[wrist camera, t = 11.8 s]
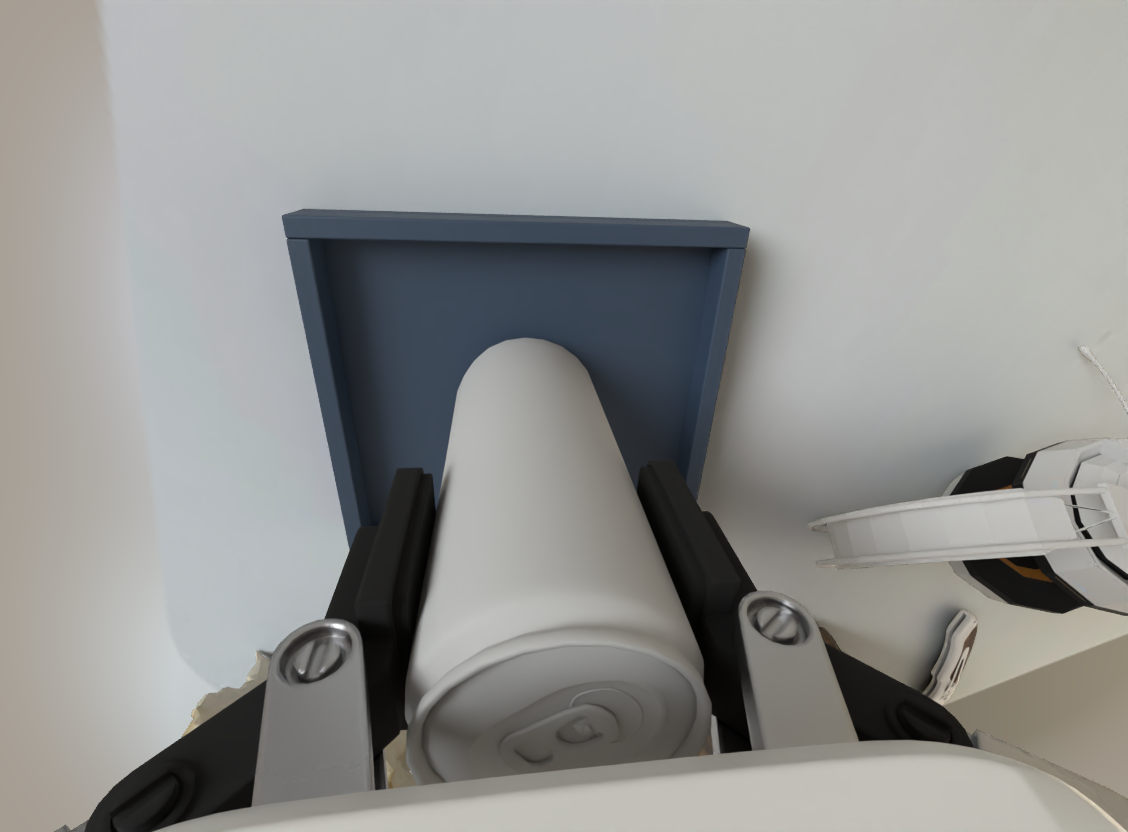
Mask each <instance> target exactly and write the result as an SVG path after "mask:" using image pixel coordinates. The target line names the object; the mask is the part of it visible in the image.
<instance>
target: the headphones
mask: <svg viewBox="0 0 1128 832" xmlns="http://www.w3.org/2000/svg"><path fill="white" fill-rule="evenodd" d="M1078 349H1079V350H1080V351H1081V352H1082V354H1083V355H1085V356H1086V357H1087V358H1088V359H1089V360H1090V361H1092V362H1093V363H1094V364H1095V365H1096V367H1097V368H1098V369H1099V370H1100V371H1101V373H1102V374H1103V375H1104V377H1105V378H1106V379H1107V381H1108V382H1109V384H1110V385H1111V387H1112V388H1113V390H1114V391H1115V393H1116V395H1117V396H1118V398H1119V400H1120V401H1121V403H1122V405H1123V407H1124V408H1125V410H1126V412H1127V414H1128V405H1127V403H1126V402H1125V400H1124V398H1123V397H1122V395H1121V393H1120V392H1119V390H1118V389H1117V387H1116V385H1115V384H1114V382H1113V381H1112V380H1111V378H1110V377H1109V376H1108V374H1107V373H1106V371H1105V370H1104V369H1103V368H1102V367H1101V365H1100V364H1099V363H1098V362H1097V361H1096V358H1095V357H1094V355H1093V354H1092V352H1091V351H1090V350H1089V349H1088V348H1087V347H1086V346H1085V345H1082V346H1080V347H1078ZM823 524H828V527H817V526H819V525H823ZM807 526H808V529H809V530H810V531H817V532H829V533H830V537H831V542H832V546H833V550H834V555H835V559H828V560H819V561H816V566H817V567H835V566H837V568H838V569H854V568H868V567H874V566H888V565H902V564H906V565H908V564H916V563H931V562H946V561H948V562H949V563H950V565H951V567H952V569H953V570H954V572H955V573H956V574H957V575H958V576H960V577H961V578H962V579H964V580H965V581H966V582H968V583H969V584H971V585H972V586H973V587H975V588H976V589H977V590H979V591H980V592H981V593H983V594H984V595H985V596H987V597H988V598H991V599H994V600H997V601H1001V602H1004V603H1007V604H1011V605H1016V606H1021V607H1026V608H1031V609H1036V610H1041V611H1046V612H1051V613H1061V614H1063V613H1066V612H1069V611H1071V610H1074V609H1077V608H1079V607H1082V606H1085V607H1090V608H1094V609H1098V610H1102V611H1107V612H1111V613H1115V614H1120V615H1124V616H1128V438H1123V439H1110V438H1097V439H1082V440H1069V441H1064V442H1061V443H1057V444H1054V445H1051V446H1049V447H1046V448H1043V449H1041V450H1038V451H1035V452H1033V453H1030V454H1027V455H1026V457H1025V459H1020V458H1014V457H1008V456H1007V457H1004V458H1001V459H998V460H995V461H992V462H989V463H986V464H984V465H981V466H978V467H975V468H972V469H970V470H967V471H965V472H964V473H962V474H961V475H959V476H958V477H957V478H955V479H954V480H953V481H952V482H951V483H950V485H949V486H948V488H947V489H946V491H945V492H944V493H943V495H942V496H941V497H936V498H929V499H922V500H915V501H909V502H902V503H895V504H890V505H884V506H878V507H873V508H867V509H862V510H858V511H853V512H848V513H844V514H839V515H834V516H830V517H825V518H821V519H818V520H815V521H812V522H809V523H808V524H807Z"/></svg>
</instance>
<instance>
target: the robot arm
mask: <svg viewBox="0 0 1128 832" xmlns="http://www.w3.org/2000/svg"><path fill="white" fill-rule="evenodd" d="M637 495H638V497H639V500H640V502H641V505H642V507H643V510H644V512H645V515H646V517H647V520H648V522H649V525H650V527H651V530H652V532H653V535H654V537H655V539H656V542H657V544H658V547H659V549H660V552H661V554H662V557H663V559H664V562H665V564H666V567H667V569H668V572H669V574H670V577H671V579H672V582H673V584H674V587H675V589H676V591H677V594H678V596H679V599H680V601H681V604H682V606H683V609H684V611H685V614H686V616H687V619H688V621H689V624H690V626H691V629H692V631H693V634H694V636H695V639H696V641H697V644H698V646H699V649H700V651H701V654H702V657H703V660H704V681H703V683H704V686H705V688H706V691H707V693H708V695H709V698H710V700H711V703H712V715H711V736H712V745H713V755H704V756H694V757H684V758H674V759H664V760H654V761H645V762H635V763H625V764H616V765H606V766H596V767H587V768H577V769H568V770H558V771H549V772H539V773H530V774H520V775H511V776H502V777H492V778H483V779H474V780H465V781H456V782H447V783H438V784H429V785H420V786H411V787H402V788H392V789H388V777H387V766H386V755H385V747H386V746H387V745H389V744H390V743H391V742H392V741H393V740H394V739H395V738H396V737H397V736H398V735H399V734H400V731H401V730H408V724H407V722H406V719H405V686H406V677H407V671H408V665H409V660H410V654H411V648H412V642H413V637H414V631H415V625H416V619H417V614H418V608H419V603H420V597H421V591H422V586H423V580H424V575H425V569H426V564H427V559H428V553H429V548H430V543H431V537H432V532H433V527H434V521H435V516H436V506H435V496H434V485H433V476H432V473H426V474H424V471H423V468H422V467H421V468H398V469H397V471H396V474H395V477H394V480H393V483H392V486H391V489H390V493H389V496H388V499H387V502H386V505H385V508H384V512H383V515H382V518H381V521H380V524H379V526H361V527H360V528H358V530H357V533H356V535H355V538H354V540H353V543H352V546H351V548H350V551H349V554H348V557H347V559H346V562H345V565H344V567H343V570H342V573H341V576H340V578H339V581H338V584H337V586H336V589H335V592H334V594H333V597H332V600H331V603H330V605H329V608H328V611H327V613H326V616H325V619H322V620H317V621H314V622H311V623H309V624H306V625H303V626H302V627H300V628H298V629H297V630H295V631H293V632H292V633H290V634H289V635H288V636H287V637H286V638H285V639H284V640H283V641H282V642H281V643H280V644H279V645H278V647H277V648H276V650H275V651H274V653H273V654H272V657H271V660H270V663H269V667H268V675H267V680H265V681H264V682H262V683H261V684H259V685H258V686H257V687H255V688H254V689H252V690H251V691H249V692H248V693H246V694H245V695H243V696H242V697H240V698H239V699H238V700H236V701H235V702H233V703H232V704H230V705H229V706H227V707H226V708H224V709H223V710H221V711H220V712H219V713H217V714H216V715H214V716H213V717H211V718H210V719H208V720H207V721H205V722H204V723H202V724H201V725H200V726H198V727H197V728H195V729H194V730H192V731H191V732H189V733H188V734H186V735H185V736H183V737H182V738H181V739H179V740H178V741H176V742H175V743H173V744H172V745H170V746H169V747H167V748H166V749H164V750H163V751H162V752H160V753H159V754H157V755H156V756H154V757H153V758H151V759H150V760H149V761H147V762H145V763H144V764H143V765H141V766H140V767H138V768H137V769H135V770H134V771H132V772H131V773H130V774H129V775H128V776H126V777H125V778H124V779H123V780H121V781H120V782H119V783H118V784H116V785H115V786H114V787H113V788H112V789H111V790H110V791H109V793H108V794H107V795H106V796H105V797H104V798H103V799H102V801H101V802H100V803H99V804H98V806H97V807H96V809H95V810H94V812H93V814H92V815H91V817H90V819H89V820H87V821H86V822H84V823H83V824H81V825H79V826H78V827H76V828H74V829H73V830H70V829H69V828H68V826H67V825H64V826H63V827H61V828H60V829H58V830H56V831H54V832H1128V799H1127V798H1125V797H1124V796H1122V795H1120V794H1118V793H1117V792H1115V791H1113V790H1111V789H1109V788H1106V787H1105V786H1102V785H1100V784H1098V783H1096V782H1093V781H1091V780H1089V779H1087V778H1084V777H1082V776H1080V775H1078V774H1076V773H1073V772H1071V771H1069V770H1067V769H1064V768H1062V767H1060V766H1058V765H1055V764H1053V763H1051V762H1049V761H1046V760H1044V759H1042V758H1040V757H1038V756H1035V755H1033V754H1031V753H1029V752H1026V751H1024V750H1022V749H1019V748H1017V747H1015V746H1013V745H1011V744H1008V743H1006V742H1004V741H1002V740H999V739H997V738H995V737H993V736H991V735H988V734H986V733H984V732H982V731H979V730H977V729H976V731H975V732H974V733H973V735H971V734H969V733H967V732H966V731H965V729H964V728H963V727H962V725H961V724H960V723H959V722H958V720H957V719H956V718H955V717H954V716H953V715H952V714H950V712H948V711H947V710H946V709H945V708H944V707H943V706H942V705H940V704H939V703H937V702H935V701H934V700H932V699H931V698H929V697H927V696H926V695H924V694H922V693H920V692H918V691H916V690H914V689H912V688H910V687H908V686H907V685H905V684H903V683H901V682H899V681H897V680H895V679H893V678H891V677H889V676H887V675H886V674H884V673H882V672H880V671H878V670H876V669H874V668H872V667H870V666H868V665H866V664H864V663H863V662H861V661H859V660H857V659H855V658H853V657H851V656H849V655H847V654H845V653H843V652H842V651H840V650H838V649H836V648H834V647H832V646H830V645H828V644H826V643H824V642H823V639H822V636H821V633H820V631H819V628H818V625H817V623H816V622H815V620H814V618H813V616H812V615H811V614H810V613H809V612H808V611H807V609H806V608H805V607H804V606H802V605H801V604H799V603H798V602H797V601H795V600H794V599H792V598H790V597H787V596H785V595H783V594H780V593H776V592H772V591H757V589H756V588H755V586H754V584H753V583H752V581H751V579H750V577H749V576H748V574H747V572H746V571H745V569H744V567H743V566H742V564H741V562H740V560H739V559H738V557H737V555H736V554H735V552H734V550H733V549H732V547H731V545H730V544H729V542H728V540H727V538H726V537H725V535H724V533H723V532H722V530H721V528H720V527H719V525H718V523H717V522H716V520H715V518H714V517H713V515H712V514H711V513H710V512H708V511H703V512H702V511H701V509H700V507H699V506H698V504H697V502H696V500H695V498H694V497H693V495H692V493H691V491H690V490H689V488H688V486H687V484H686V483H685V481H684V479H683V477H682V475H681V474H680V472H679V470H678V468H677V467H676V465H675V463H674V462H673V460H651V461H649V462H648V464H647V466H646V467H641V468H640V471H639V478H638V486H637Z"/></svg>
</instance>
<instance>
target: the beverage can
mask: <svg viewBox="0 0 1128 832" xmlns="http://www.w3.org/2000/svg"><path fill="white" fill-rule="evenodd" d="M703 681H704V660H703V657H702V654H701V651H700V649H699V646H698V644H697V641H696V639H695V636H694V634H693V631H692V629H691V626H690V624H689V621H688V619H687V616H686V614H685V611H684V609H683V606H682V604H681V601H680V599H679V596H678V594H677V591H676V589H675V587H674V584H673V582H672V579H671V577H670V574H669V572H668V569H667V567H666V564H665V562H664V559H663V557H662V554H661V552H660V549H659V547H658V544H657V542H656V539H655V537H654V535H653V532H652V530H651V527H650V525H649V522H648V520H647V517H646V515H645V512H644V510H643V507H642V505H641V502H640V500H639V497H638V495H637V492H636V490H635V487H634V485H633V482H632V480H631V478H630V475H629V473H628V470H627V468H626V465H625V463H624V460H623V458H622V455H621V453H620V450H619V448H618V445H617V443H616V440H615V438H614V435H613V433H612V430H611V428H610V425H609V423H608V421H607V418H606V416H605V413H604V411H603V408H602V406H601V403H600V401H599V398H598V396H597V393H596V391H595V388H594V386H593V383H592V381H591V378H590V376H589V373H588V371H587V369H586V368H585V367H584V366H583V364H582V363H581V362H580V361H579V359H578V358H577V357H576V356H575V355H573V354H572V353H570V352H569V351H568V350H566V349H565V348H564V347H562V346H560V345H557V344H554V343H552V342H549V341H546V340H543V339H534V338H518V339H512V340H506V341H503V342H501V343H499V344H497V345H494V346H492V347H490V348H488V349H487V350H486V351H485V352H483V353H482V354H481V355H480V356H479V357H478V358H477V359H476V360H474V362H473V363H472V365H471V366H470V368H469V369H468V370H467V372H466V373H465V375H464V377H463V379H462V381H461V384H460V386H459V389H458V391H457V396H456V402H455V408H454V414H453V420H452V426H451V432H450V438H449V444H448V450H447V456H446V461H445V467H444V473H443V478H442V484H441V489H440V495H439V500H438V505H437V511H436V516H435V521H434V527H433V532H432V537H431V543H430V548H429V553H428V559H427V564H426V569H425V575H424V580H423V586H422V591H421V597H420V603H419V608H418V614H417V619H416V625H415V631H414V637H413V642H412V648H411V654H410V660H409V665H408V671H407V677H406V686H405V719H406V722H407V724H408V730H407V742H406V762H407V765H408V767H409V769H410V771H411V773H412V775H413V777H414V779H415V781H416V783H417V785H418V786H420V785H429V784H438V783H447V782H456V781H465V780H474V779H483V778H492V777H502V776H511V775H520V774H530V773H539V772H549V771H558V770H568V769H577V768H587V767H596V766H606V765H616V764H625V763H635V762H645V761H654V760H664V759H674V758H684V757H694V756H697V755H698V754H699V753H700V752H701V750H702V748H703V745H704V743H705V741H706V739H707V737H708V735H709V732H710V730H711V715H712V703H711V700H710V698H709V695H708V693H707V691H706V688H705V686H704V683H703Z"/></svg>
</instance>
